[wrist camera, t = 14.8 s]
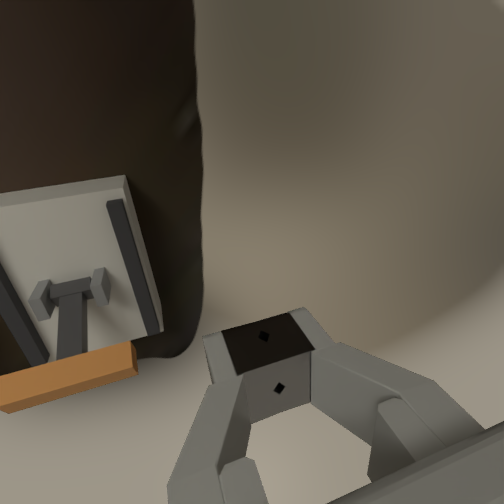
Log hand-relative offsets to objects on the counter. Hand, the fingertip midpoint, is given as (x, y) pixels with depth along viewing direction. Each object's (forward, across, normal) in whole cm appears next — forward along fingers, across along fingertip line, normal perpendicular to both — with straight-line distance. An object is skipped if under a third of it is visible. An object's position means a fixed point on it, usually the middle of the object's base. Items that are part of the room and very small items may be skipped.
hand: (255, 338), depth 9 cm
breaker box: (+31, +12, +10) cm, 35 cm away
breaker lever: (+24, +12, +10) cm, 28 cm away
